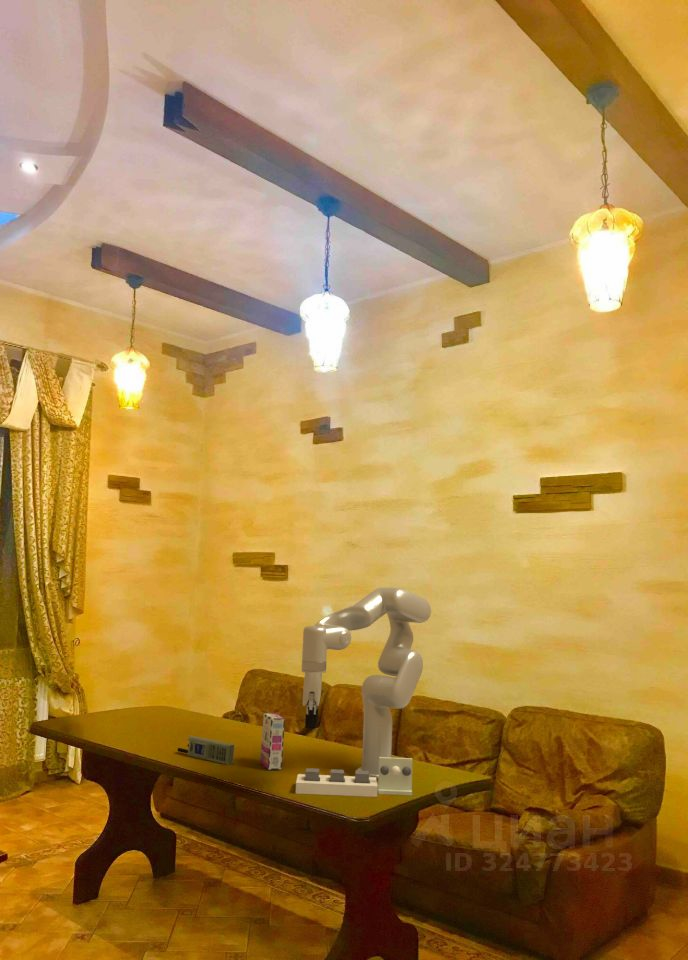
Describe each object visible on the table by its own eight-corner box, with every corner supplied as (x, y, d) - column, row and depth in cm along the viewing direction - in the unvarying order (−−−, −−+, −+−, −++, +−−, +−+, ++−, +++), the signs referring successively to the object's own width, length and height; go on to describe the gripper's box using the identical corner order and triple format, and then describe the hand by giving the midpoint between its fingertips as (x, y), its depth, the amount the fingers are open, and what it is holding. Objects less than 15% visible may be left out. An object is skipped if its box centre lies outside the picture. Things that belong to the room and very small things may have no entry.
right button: (368, 782, 217) (368, 770, 218) (368, 785, 213) (369, 774, 214) (354, 781, 217) (355, 770, 218) (355, 785, 213) (355, 773, 214)
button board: (375, 787, 220) (375, 777, 220) (377, 796, 210) (377, 786, 210) (297, 784, 220) (298, 774, 220) (295, 793, 210) (296, 782, 210)
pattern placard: (410, 791, 217) (411, 757, 218) (412, 795, 213) (412, 760, 215) (377, 790, 217) (378, 756, 218) (378, 793, 213) (379, 758, 215)
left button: (318, 780, 217) (319, 768, 218) (318, 783, 213) (318, 772, 214) (305, 779, 217) (306, 768, 218) (304, 783, 213) (305, 771, 214)
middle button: (343, 781, 217) (343, 769, 218) (343, 784, 213) (343, 773, 214) (330, 780, 217) (330, 769, 218) (330, 784, 213) (330, 772, 214)
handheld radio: (227, 766, 239) (174, 754, 253) (234, 764, 242) (181, 752, 256) (229, 745, 241) (176, 734, 254) (235, 744, 243) (183, 733, 257)
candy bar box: (282, 770, 236) (285, 718, 239) (268, 770, 235) (271, 718, 237) (274, 762, 247) (276, 712, 249) (259, 762, 245) (262, 712, 247)
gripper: (303, 663, 229) (301, 719, 226) (299, 669, 211) (296, 730, 209) (327, 664, 228) (325, 720, 226) (325, 670, 211) (322, 731, 209)
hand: (311, 724), depth 217 cm, fingers open, 9 cm apart
